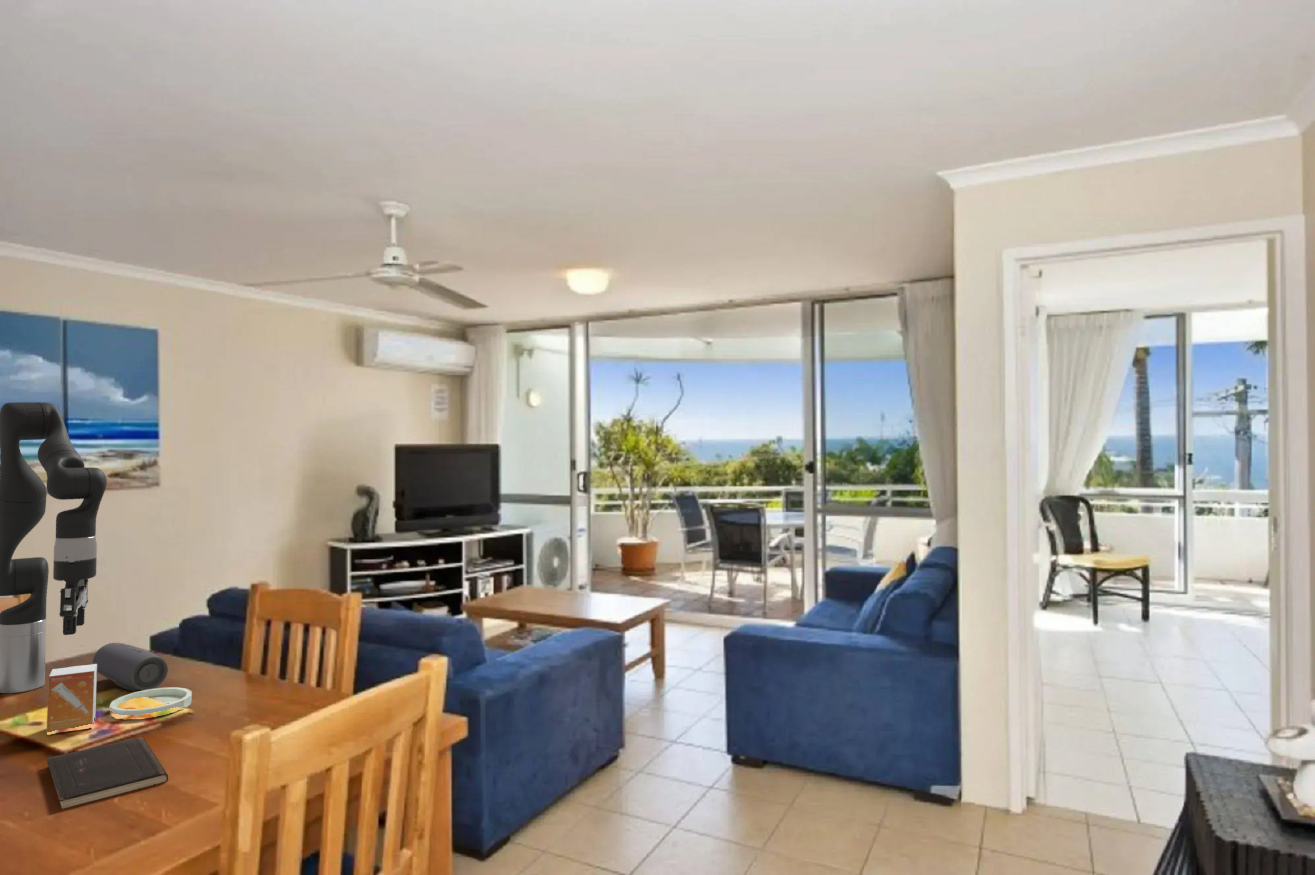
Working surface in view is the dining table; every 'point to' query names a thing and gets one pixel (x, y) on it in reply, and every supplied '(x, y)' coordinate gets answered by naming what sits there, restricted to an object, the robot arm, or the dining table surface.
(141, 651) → the bluetooth speaker
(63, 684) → the small box
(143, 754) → the hardcover book
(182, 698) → the round tray
